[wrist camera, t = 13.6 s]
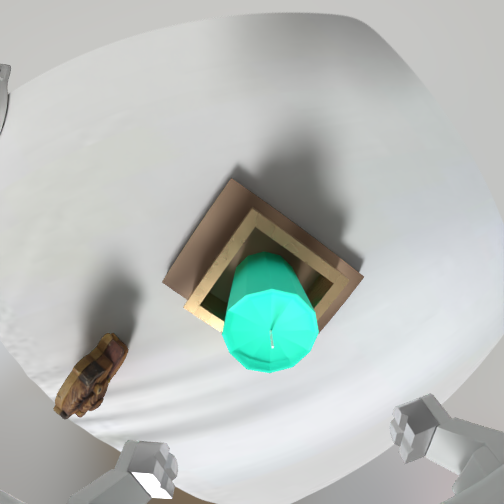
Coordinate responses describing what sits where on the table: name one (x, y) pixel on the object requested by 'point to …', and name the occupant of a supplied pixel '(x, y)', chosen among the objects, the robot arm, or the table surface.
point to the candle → (268, 315)
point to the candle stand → (248, 243)
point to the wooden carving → (90, 378)
